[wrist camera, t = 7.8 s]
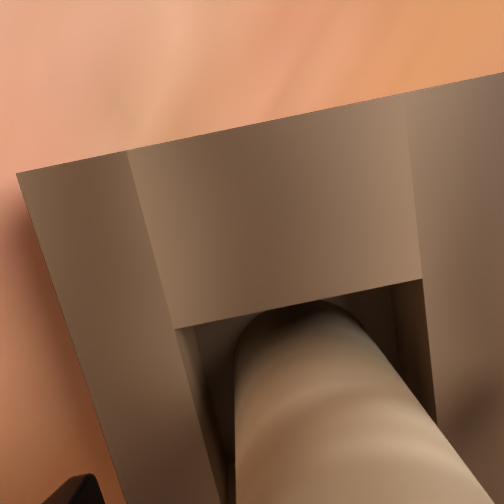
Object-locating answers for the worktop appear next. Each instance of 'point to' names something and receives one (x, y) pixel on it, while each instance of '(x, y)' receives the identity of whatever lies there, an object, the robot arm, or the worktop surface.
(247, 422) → the pin
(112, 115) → the worktop surface
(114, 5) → the worktop surface
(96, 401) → the bore block
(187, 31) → the worktop surface
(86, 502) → the robot arm
